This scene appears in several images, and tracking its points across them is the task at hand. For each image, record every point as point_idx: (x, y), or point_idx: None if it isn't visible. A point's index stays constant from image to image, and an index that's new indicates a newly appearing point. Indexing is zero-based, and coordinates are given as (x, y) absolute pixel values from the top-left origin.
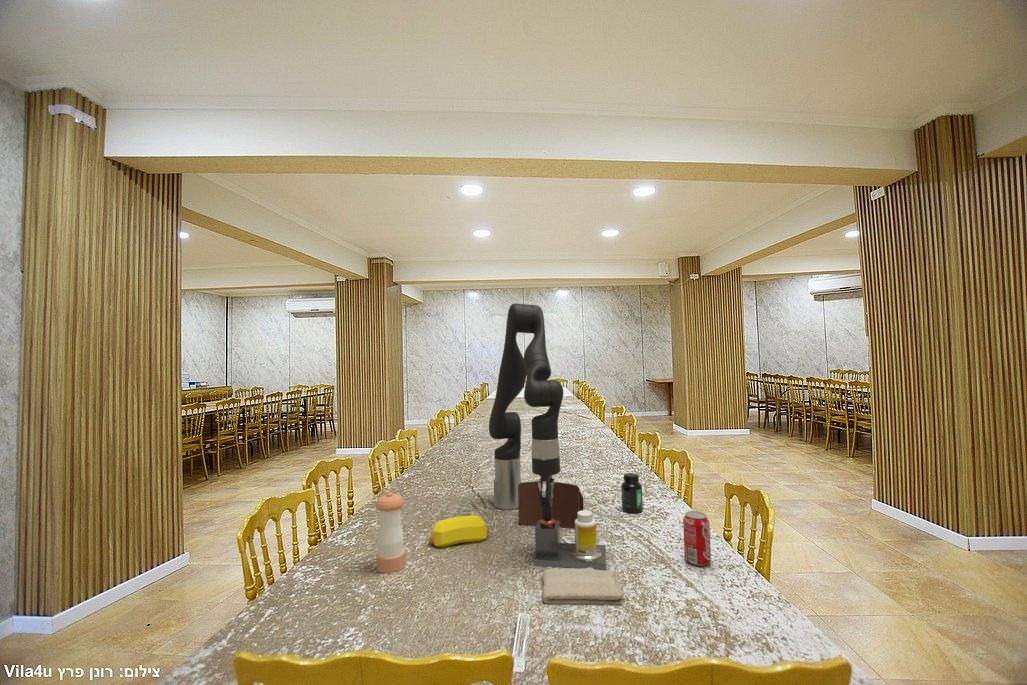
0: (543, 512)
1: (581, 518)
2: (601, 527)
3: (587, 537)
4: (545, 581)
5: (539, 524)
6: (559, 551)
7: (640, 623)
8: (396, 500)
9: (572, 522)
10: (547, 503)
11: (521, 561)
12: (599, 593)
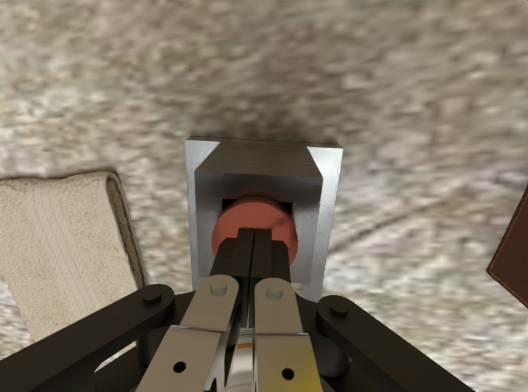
0: (233, 252)
1: None
2: (484, 328)
3: None
4: (44, 188)
5: (252, 190)
6: None
7: (4, 355)
8: None
9: (514, 261)
10: (135, 352)
11: (213, 83)
12: (25, 316)
